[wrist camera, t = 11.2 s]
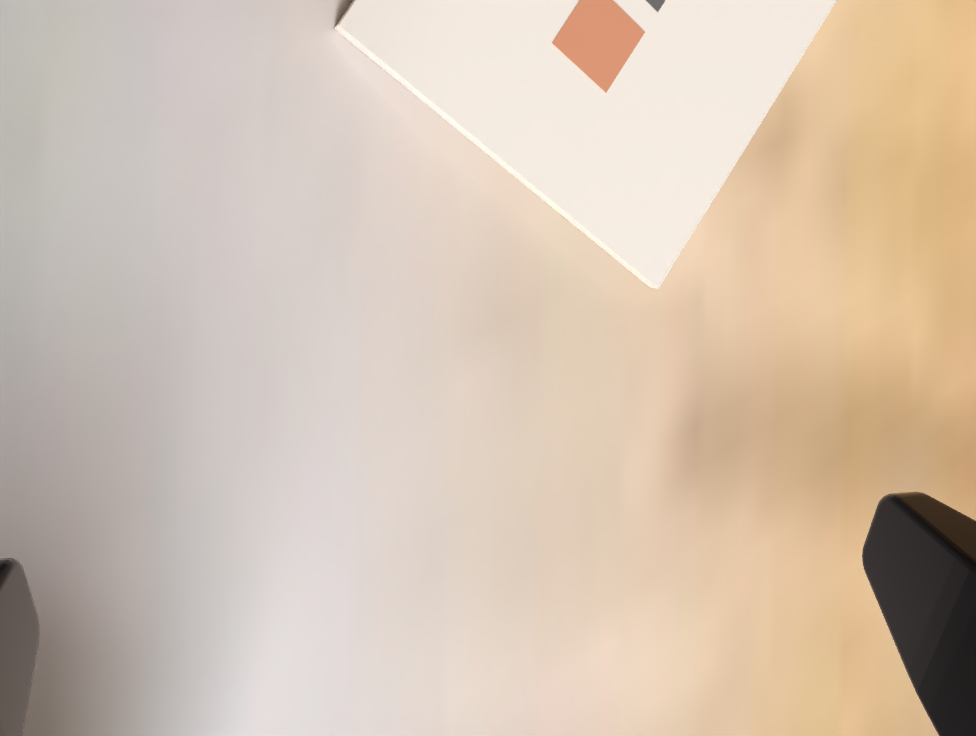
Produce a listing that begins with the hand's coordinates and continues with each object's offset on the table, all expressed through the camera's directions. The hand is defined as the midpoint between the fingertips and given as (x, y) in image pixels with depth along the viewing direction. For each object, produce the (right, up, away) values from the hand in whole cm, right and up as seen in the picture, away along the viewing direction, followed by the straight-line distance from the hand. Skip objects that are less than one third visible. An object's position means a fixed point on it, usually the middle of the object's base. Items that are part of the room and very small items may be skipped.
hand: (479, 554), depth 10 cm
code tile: (+3, +11, +13) cm, 17 cm away
